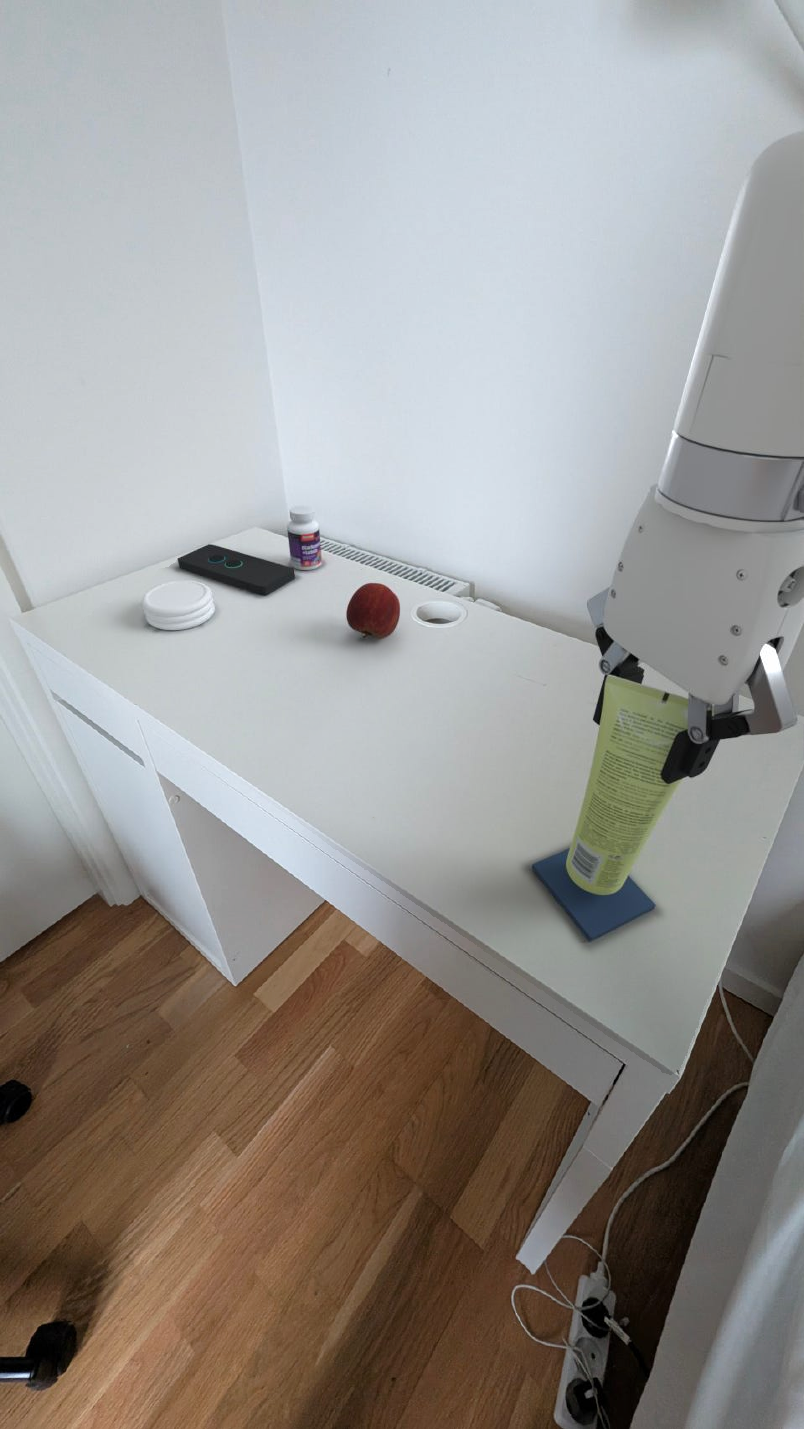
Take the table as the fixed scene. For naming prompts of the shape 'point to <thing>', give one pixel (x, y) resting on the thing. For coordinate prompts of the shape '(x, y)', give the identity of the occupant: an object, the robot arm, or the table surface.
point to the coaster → (178, 605)
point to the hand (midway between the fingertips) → (644, 743)
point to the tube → (625, 782)
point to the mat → (591, 899)
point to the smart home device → (237, 569)
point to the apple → (373, 610)
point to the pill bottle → (304, 539)
